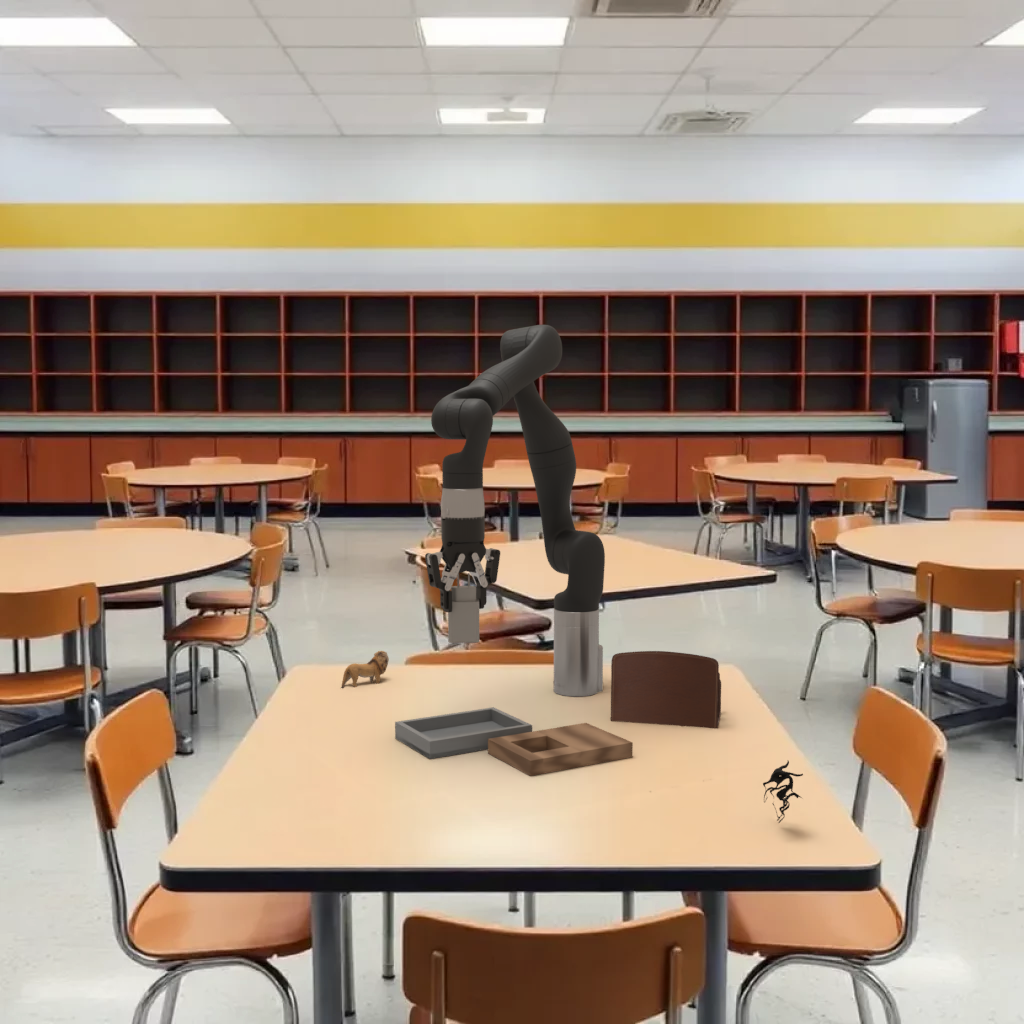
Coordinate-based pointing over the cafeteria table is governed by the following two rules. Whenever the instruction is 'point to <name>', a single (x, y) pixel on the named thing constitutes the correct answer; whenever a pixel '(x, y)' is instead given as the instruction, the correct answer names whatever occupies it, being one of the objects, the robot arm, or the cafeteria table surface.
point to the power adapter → (463, 614)
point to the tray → (457, 731)
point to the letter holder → (665, 689)
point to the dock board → (559, 748)
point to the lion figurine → (367, 669)
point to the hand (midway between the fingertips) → (463, 609)
